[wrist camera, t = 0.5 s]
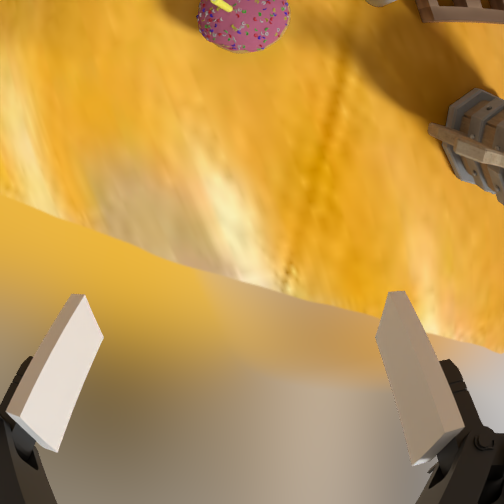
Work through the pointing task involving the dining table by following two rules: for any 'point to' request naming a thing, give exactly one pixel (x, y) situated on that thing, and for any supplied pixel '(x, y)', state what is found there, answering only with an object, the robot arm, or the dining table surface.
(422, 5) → the hole block
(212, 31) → the cupcake
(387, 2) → the dowel
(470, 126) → the tankard
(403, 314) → the robot arm
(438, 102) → the dining table surface
